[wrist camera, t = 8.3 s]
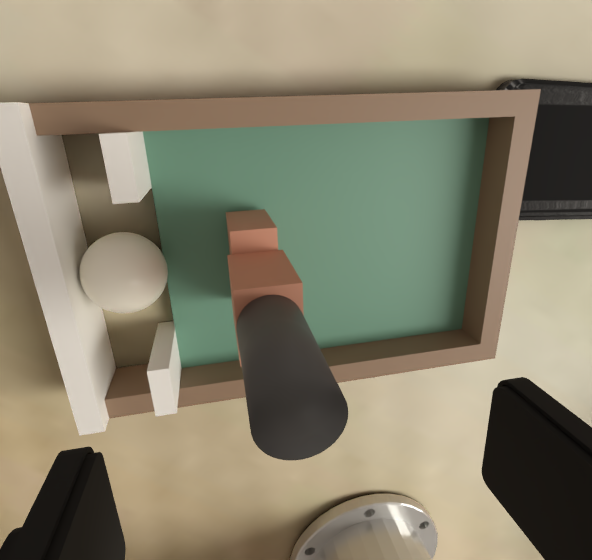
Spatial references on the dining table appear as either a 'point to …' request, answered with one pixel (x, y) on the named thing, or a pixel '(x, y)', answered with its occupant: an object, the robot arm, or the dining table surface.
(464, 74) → the dining table surface
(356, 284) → the pitch
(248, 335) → the kicker
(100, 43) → the dining table surface
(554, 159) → the phone
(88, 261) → the ball
